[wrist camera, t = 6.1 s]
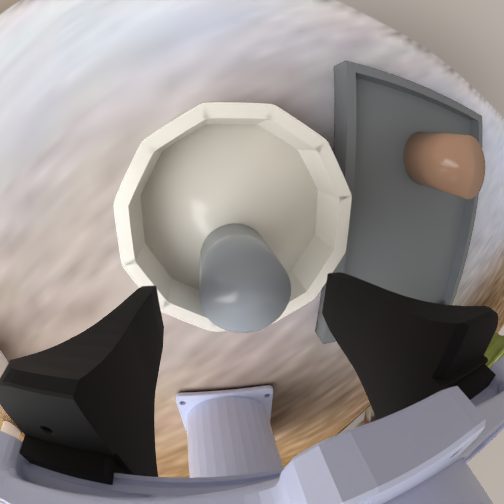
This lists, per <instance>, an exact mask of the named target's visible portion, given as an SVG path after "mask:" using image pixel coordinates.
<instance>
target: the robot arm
mask: <svg viewBox="0 0 504 504" xmlns="http://www.w3.org/2000/svg"><path fill="white" fill-rule="evenodd" d="M322 314H323V317H324V319H325V321H326V324H327V326H328V328H329V330H330V332H331V333H332V335H333V336H334V338H335V340H336V341H337V343H338V344H339V346H340V347H341V349H342V350H343V352H344V353H345V355H346V356H347V358H348V359H349V361H350V362H351V364H352V365H353V367H354V369H355V371H356V372H357V374H358V376H359V379H360V381H361V383H362V385H363V387H364V389H365V392H366V394H367V396H368V399H369V401H370V404H371V406H372V409H373V412H374V415H375V418H376V421H373V422H371V423H368V424H365V425H362V426H359V427H357V428H354V429H351V430H347V431H345V432H343V433H340V434H338V435H335V436H333V437H330V438H328V439H325V440H323V441H320V442H318V443H316V444H314V445H313V446H311V447H309V448H308V449H306V450H304V451H302V452H301V453H299V454H297V455H295V457H294V458H293V459H292V460H291V461H290V462H289V463H288V464H287V465H286V467H284V468H283V465H282V461H281V458H280V455H279V451H278V448H277V445H276V441H275V438H274V435H273V431H272V428H271V424H270V419H271V410H272V401H273V387H272V386H270V385H266V386H258V387H250V388H242V389H232V390H221V391H207V392H187V393H178V394H176V402H177V405H178V408H179V412H180V415H181V418H182V421H183V424H184V426H185V429H186V432H187V439H188V459H189V474H190V478H172V477H158V472H157V464H156V452H155V434H154V399H155V389H156V383H157V377H158V371H159V365H160V360H161V354H162V348H163V332H164V326H163V321H162V316H161V310H160V305H159V299H158V293H157V287H156V286H141V287H140V288H139V289H137V290H136V291H135V292H134V293H133V294H132V295H131V296H129V297H128V298H127V299H126V300H125V301H124V302H123V303H121V304H120V305H119V306H118V307H117V308H116V309H114V310H113V311H112V312H111V313H109V314H108V315H107V316H105V317H104V318H103V319H102V320H100V321H99V322H98V323H96V324H95V325H93V326H92V327H90V328H89V329H87V330H85V331H84V332H82V333H80V334H79V335H77V336H75V337H73V338H71V339H69V340H67V341H65V342H63V343H61V344H59V345H56V346H54V347H52V348H49V349H47V350H44V351H41V352H38V353H35V354H32V355H28V356H24V357H21V358H17V359H13V360H10V362H9V364H8V365H7V367H6V369H5V370H4V372H3V374H2V376H1V377H0V404H1V406H2V407H3V409H4V410H5V411H6V413H7V414H8V415H9V416H10V418H11V419H12V420H13V421H14V422H15V424H16V425H17V426H18V427H19V428H20V429H21V430H22V432H23V433H24V434H25V437H24V440H23V442H22V441H21V440H19V439H18V438H16V437H14V436H12V435H10V434H7V433H5V432H3V431H0V502H1V503H3V504H493V503H492V501H491V499H490V498H489V496H488V495H487V493H486V492H485V490H484V489H483V487H482V486H481V484H480V483H479V481H478V480H477V478H476V477H475V475H474V474H473V473H472V471H471V469H470V468H469V467H468V465H467V464H466V463H467V462H468V461H469V460H470V459H472V458H473V457H474V456H475V455H476V454H477V453H478V452H480V450H482V449H483V448H484V447H485V446H486V445H487V444H488V443H489V442H490V441H491V440H492V439H493V438H494V437H495V436H496V435H497V434H498V433H499V432H500V431H501V430H502V429H503V428H504V356H502V357H501V358H500V359H499V360H497V361H496V362H495V363H494V364H493V365H492V366H491V367H490V368H488V367H487V366H486V365H485V364H486V363H487V362H488V358H487V357H485V356H484V354H485V352H486V350H487V348H488V346H489V344H490V342H491V340H492V338H493V335H494V333H495V331H496V328H497V324H498V315H497V313H496V312H495V311H494V310H492V309H491V308H489V307H486V306H453V305H444V304H437V303H432V302H426V301H422V300H418V299H414V298H410V297H407V296H403V295H400V294H397V293H395V292H392V291H389V290H386V289H384V288H381V287H379V286H376V285H374V284H371V283H369V282H366V281H364V280H361V279H359V278H356V277H354V276H351V275H348V274H345V273H341V272H337V273H328V275H327V282H326V289H325V296H324V303H323V309H322Z"/></svg>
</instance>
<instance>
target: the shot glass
mask: <svg viewBox="0 0 504 504" xmlns="http://www.w3.org/2000/svg"><path fill="white" fill-rule="evenodd" d="M8 364H9V363H8V361H7V359H6V358H5V356H4V355H3V353H2V352H1V350H0V377H1V376H2V374H3V372H4V370H5V369H6V367H7V365H8Z"/></svg>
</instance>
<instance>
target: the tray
mask: <svg viewBox="0 0 504 504" xmlns="http://www.w3.org/2000/svg"><path fill="white" fill-rule="evenodd" d="M334 87H335V131H334V155H335V158H336V160H337V162H338V164H339V166H340V169H341V171H342V173H343V176H344V178H345V180H346V183H347V185H348V187H349V190H350V192H351V196H352V200H351V211H350V221H349V230H348V238H347V246H346V252H345V254H344V256H343V257H342V259H341V260H340V262H339V264H338V265H337V267H336V268H335V270H334V271H333V273H337V272H341V273H345V274H348V275H351V276H354V277H356V278H359V279H361V280H364V281H366V282H369V283H371V284H374V285H376V286H379V287H381V288H384V289H386V290H389V291H392V292H395V293H397V294H400V295H403V296H407V297H410V298H414V299H418V300H422V301H426V302H432V303H437V304H444V305H452V303H453V300H454V297H455V295H456V292H457V288H458V285H459V282H460V279H461V275H462V272H463V268H464V265H465V261H466V257H467V253H468V249H469V245H470V240H471V236H472V231H473V226H474V220H475V214H476V208H477V201H478V194H479V193H478V194H477V195H476V196H475V197H474V198H472V199H465V198H462V197H459V196H456V195H453V194H450V193H447V192H443V191H440V190H437V189H433V188H430V187H426V186H423V185H419V184H416V183H415V182H413V181H412V180H411V179H410V177H409V176H408V174H407V172H406V169H405V165H404V148H405V145H406V142H407V140H408V139H409V137H410V136H411V135H412V134H414V133H416V132H436V133H450V134H461V135H470V136H473V137H474V138H475V139H476V140H477V141H478V142H479V144H480V146H481V148H482V116H481V115H479V114H477V113H476V112H474V111H472V110H470V109H469V108H467V107H465V106H463V105H461V104H459V103H457V102H456V101H454V100H452V99H450V98H448V97H446V96H443V95H441V94H439V93H437V92H435V91H433V90H430V89H428V88H426V87H423V86H421V85H419V84H416V83H414V82H411V81H409V80H406V79H403V78H401V77H398V76H395V75H392V74H389V73H387V72H384V71H380V70H377V69H374V68H371V67H367V66H364V65H360V64H357V63H353V62H349V61H344V62H342V63H340V64H338V65H336V66H334ZM325 289H326V283H325V285H324V286H323V287H322V291H321V298H320V305H319V312H318V318H317V324H316V330H315V332H316V334H317V335H318V337H319V338H320V340H321V342H322V343H323V344H325V343H330V342H335V341H336V340H335V338H334V336H333V335H332V333H331V332H330V330H329V328H328V326H327V324H326V321H325V319H324V317H323V314H322V309H323V303H324V296H325Z"/></svg>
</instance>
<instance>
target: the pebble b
mask: <svg viewBox="0 0 504 504" xmlns="http://www.w3.org/2000/svg"><path fill="white" fill-rule="evenodd" d="M404 165H405V169H406V172H407V174H408V176H409V177H410V179H411V180H412V181H413V182H415V183H416V184H419V185H423V186H426V187H430V188H433V189H437V190H440V191H443V192H447V193H450V194H453V195H456V196H459V197H462V198H465V199H472V198H474V197H475V196H476V195H477V194H478V193H479V191H480V189H481V187H482V184H483V181H484V175H485V160H484V154H483V151H482V148H481V146H480V144H479V142H478V141H477V140H476V139H475V138H474V137H473V136H470V135H461V134H450V133H436V132H416V133H414V134H412V135H411V136H410V137H409V139H408V140H407V142H406V145H405V148H404Z"/></svg>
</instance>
